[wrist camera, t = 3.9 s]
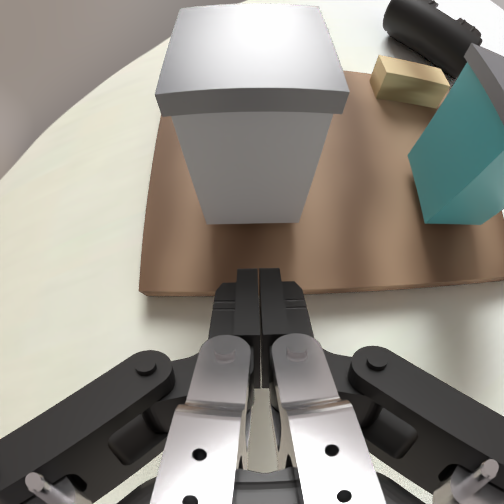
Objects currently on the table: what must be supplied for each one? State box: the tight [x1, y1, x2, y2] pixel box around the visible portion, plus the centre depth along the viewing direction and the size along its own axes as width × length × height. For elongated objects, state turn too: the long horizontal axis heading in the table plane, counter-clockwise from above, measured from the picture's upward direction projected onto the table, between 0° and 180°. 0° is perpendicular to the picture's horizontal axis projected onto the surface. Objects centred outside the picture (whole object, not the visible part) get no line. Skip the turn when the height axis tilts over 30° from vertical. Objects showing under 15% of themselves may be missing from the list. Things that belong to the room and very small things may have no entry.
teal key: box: [407, 43, 504, 225], centre depth 13 cm, size 5×5×10 cm
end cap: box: [383, 0, 482, 79], centre depth 24 cm, size 10×7×7 cm
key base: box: [139, 55, 504, 296], centre depth 19 cm, size 26×18×4 cm
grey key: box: [155, 4, 350, 225], centre depth 13 cm, size 5×5×10 cm
